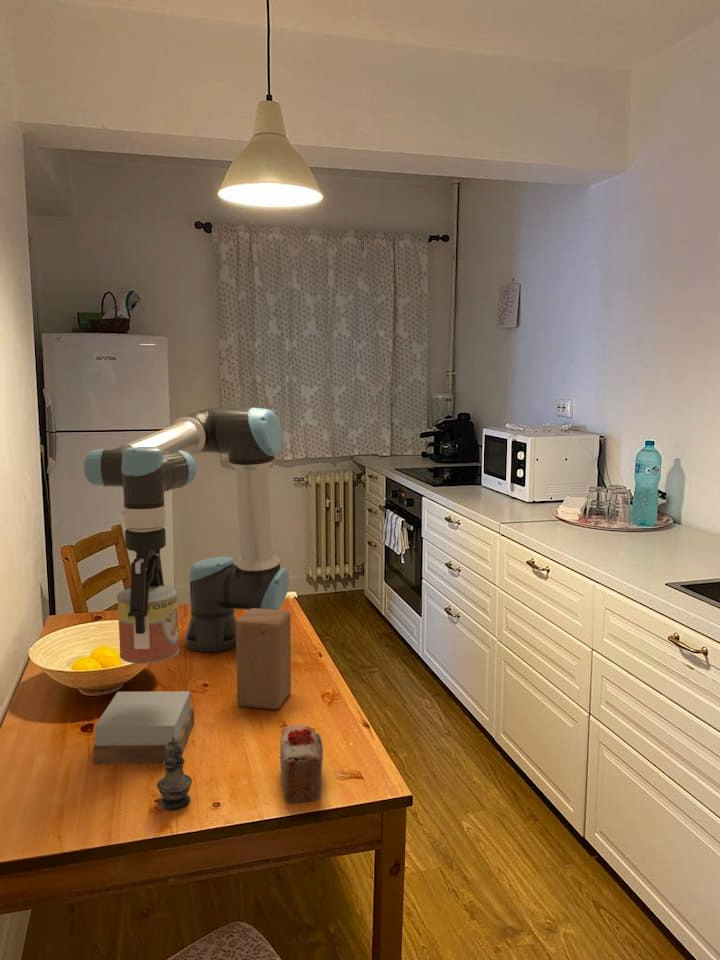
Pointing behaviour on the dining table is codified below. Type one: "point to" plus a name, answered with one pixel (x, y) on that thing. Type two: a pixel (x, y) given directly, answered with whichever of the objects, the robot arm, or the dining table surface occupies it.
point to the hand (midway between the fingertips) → (149, 637)
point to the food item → (301, 763)
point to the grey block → (143, 718)
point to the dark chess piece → (174, 779)
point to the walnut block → (140, 749)
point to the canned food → (150, 626)
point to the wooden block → (263, 658)
